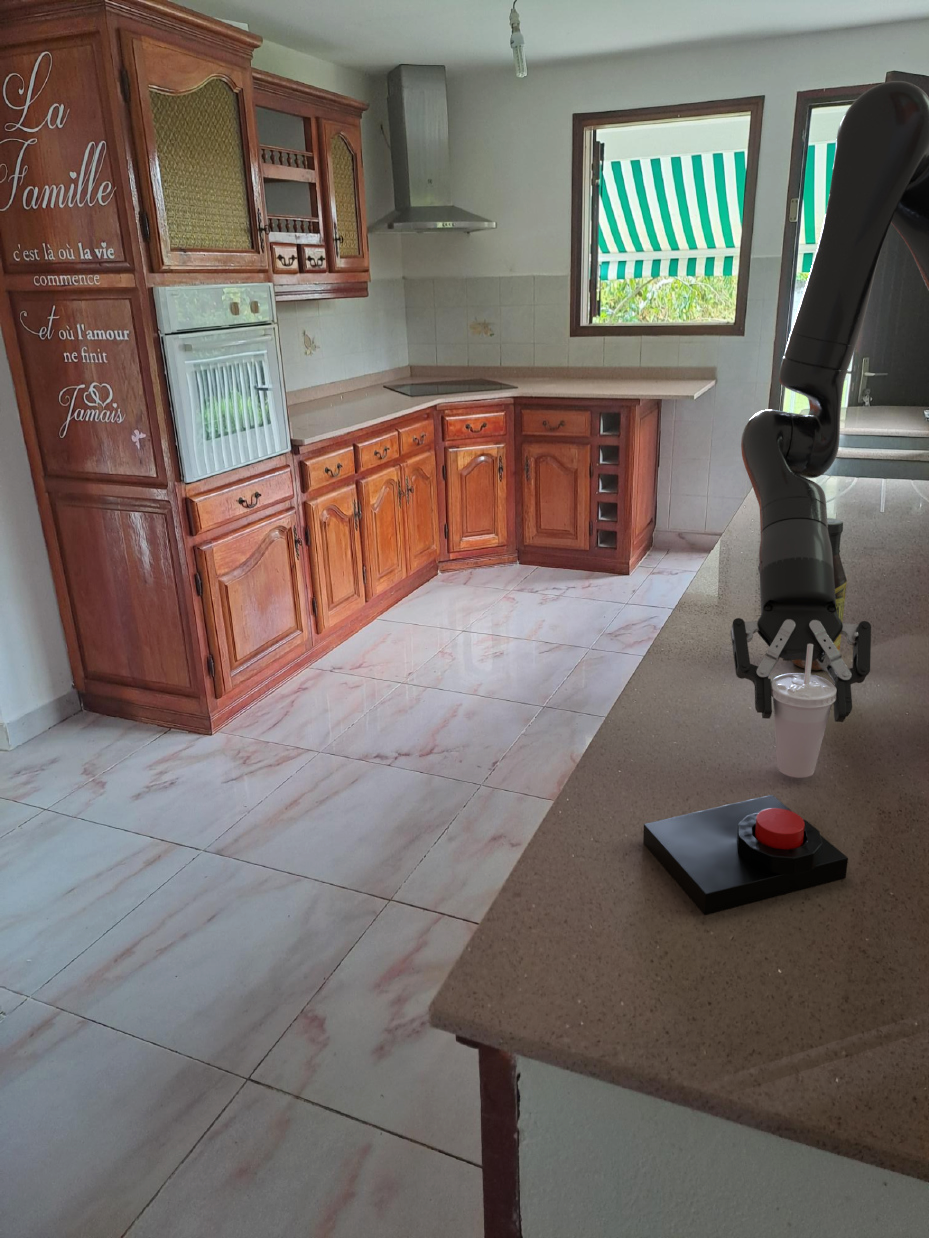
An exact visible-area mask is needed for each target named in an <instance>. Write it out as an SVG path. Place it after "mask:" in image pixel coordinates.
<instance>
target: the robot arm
mask: <svg viewBox="0 0 929 1238" xmlns="http://www.w3.org/2000/svg"><path fill="white" fill-rule="evenodd" d="M831 173H832V174H831V181H830V187H829V194H828V200H827V205H826V210H825V215H824V219H823V223H822V228H821V232H820V237H819V240H818V244H817V249H816V252H815V255H814V259H813V262H812V265H811V268H810V272H809V275H808V278H807V281H806V284H805V287H804V290H803V292H802V293H803V294H802V297H801V299H800V303H799V305H798V308H797V312H796V314H795V318H794V322H793V324H792V327H791V331H790V333H789V337H788V341H787V343H786V347H785V350H784V353H783V357H782V360H781V364H780V367H779V371H778V381H779V383H780V385H781V386H782V387H783V388H785V389H787V390H789V391H792V392H794V393H797V394H799V395H802V396H804V397H806V398H807V400H808V405H809V410H808V411H809V412H808V414H801V413H795V412H789V411H783V410H777V409H765V410H760V411H758V412H756V413H755V414H754V415H753V416H752V417H751V418H750V419H749V420H748V421H747V422H746V424H745V427H744V428H743V432H742V435H741V442H740V443H741V444H740V447H741V457H742V461H743V464H744V468H745V470H746V472H747V476H748V478H749V481H750V483H751V486H752V489H753V492H754V495H755V497H756V500H757V503H758V508H759V531H760V542H759V550H758V565H757V570H758V573H759V574H758V575H759V597H760V598H759V599H760V600H759V601H760V616H759V618H758V619H757V620H751V621H745V620H744V619H743V618H741V617H736V618H734V619H733V620H732V624H731V629H730V638H731V646H732V654H733V662H734V669H735V676H736V677H737V678H738V679H741V680H743V679H745V680H749V681H750V682H752V684H753V687H754V708H755V711H756V713H758V714H761V718H762V719H766V720H767V719H768V720H770V719H771V716H772V714H773V697H772V696H771V681H772V679H771V678H769V677H770V675H771V673H772V671H773V670H774V668H775V666H776V665H777V663H778V661H779V660H780V659H782V660H783V661H785V662H787V661H788V662H789V661H790V662H792V660H797V659H800V660H804V661H806V654H807V644H813V654H812V661H815V660H817V662H818V663H819V665H820V666H821V668H822V669H823V670H822V671H824V672H826V674H827V675H828V676H829V679H830V681H831V682H832V683H833V684H834V685H835V686H836V689H837V691H836V697H837V698H836V700H835V702H834V703H832V704H833V718H834V719H833V720H834V722H835V723H844V721H845V720H846V718H848V717H849V715H850V714H851V713H852V710H853V699H852V698H853V697H852V686H851V685H852V684H856V683H857V684H862V683H863V682H864V681H866V680H865V679H866V677H867V676H869V674H870V672H871V653H872V652H871V651H872V624H871V623H870V622H869V621H866V620H862V621H860V622H859V623H858V624H857V623H849V622H842V621H841V620H840V618H839V617H838V615H837V611H836V597H835V584H834V570H833V556H832V547H831V542H830V539H829V533H828V522H827V518H828V509H827V498H826V493H825V491H824V489H823V488H822V487H821V485H819V484H818V483H817V482H815V481H814V480H811V479H817V478H819V477H821V476H822V475H824V474H825V473H826V472H827V471H829V469H830V468H831V467H832V465H833V464H834V463H835V461H836V458H837V455H838V453H839V448H840V440H841V439H840V438H841V437H840V436H841V435H840V434H841V412H842V411H841V410H842V401H843V394H844V393H843V392H844V386H845V381H846V377H847V375H848V371H849V370H848V369H849V368H850V364H851V362H852V359H853V356H854V353H855V350H856V347H857V344H858V341H859V338H860V335H861V331H862V329H863V324H864V321H865V316H866V313H867V310H868V305H869V301H870V297H871V293H872V287H873V284H874V280H875V274H876V270H877V266H878V263H879V259H880V256H881V252H882V249H883V246H884V242H885V239H886V237H887V234H888V231H889V228H890V226H891V225H892V226H893V227H894V229H895V230H896V231H897V232H898V234H899V235H900V236H901V238H902V239H903V241H904V243H905V244H906V245H907V247H908V249H909V251H910V253H911V255H912V257H913V259H914V262H915V263H916V266H917V268H918V270H919V273H920V275H921V278H922V280H923V282H924V284H925V286H926V288H927V291H929V96H928V94H927V93H926V92H925V91H924V90H923V89H922V88H920V87H919V86H917V85H915V84H914V83H911V82H908V81H904V80H891V81H886V82H882V83H879V84H877V85H875V86H873V87H871V88H869V89H868V90H866V91H864V92H862V94H861V95H860V96H858V97H857V98H856V99H855V100H854V101H853V102H852V103H851V105H850V106H849V107H848V109H847V110H846V112H845V114H844V115H843V117H842V119H841V120H840V122H839V125H838V129H837V134H836V136H835V151H834V159H833V166H832V172H831ZM755 633H757V634H758V635H759V637H760V638H761V639H762V640H763V641H764V642H765V644H766V645H767V646H768V649H767V651H766V653H765V654H764V656H763V658H762V660H761V661H760V664H759V665H756V664H753V663H751V659H750V651H749V644H748V643H750V642H751V641H752V639H753V637H754V634H755ZM840 634H841V636H842V635H843V636H844V637H845V640H846V643H847V644H848V645H850V646H852V667H851V668H849V667H848V665H847V664H846V663H845V661H844V660H843V658H842V655H841V651H840V652H839V651H838V649H837V648H836V646H835V645H834V641H835V640H836V639H837V637H838V636H839V635H840Z"/></svg>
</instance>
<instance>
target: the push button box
mask: <svg viewBox="0 0 929 1238" xmlns="http://www.w3.org/2000/svg"><path fill="white" fill-rule="evenodd" d="M770 808H779V809H785V810H789V811H792V809H790V808H789V807H787V806H786V804H784V803H783V802H782V801H781V800H779V798H777V797H776V796H775V795H773V794H769V795H764V796H761V797H755V798H752V799H747V800H743V801H739V802H734V803H729V804H725V805H721V806H717V807H712V808H708V809H704V810H699V811H695V812H694V811H693V812H691V813H686V814H682V815H677V816H673V817H669V818H664V819H660V820H656V821H652V822H647V823H644V824H643V835H642V836H643V838H642V839H643V842H642V843H643V845H644V847H646V849H647V850H648V851H649V852H650V853H651V854H652V856H653V857H654V858H655V859H656V860H657V862H659V864H660V865H661V866H662V867H663V869H664V870H665V871H666V872H667V874H669V876H670V877H671V878H672V879H673V880H674V881H675V883H676V884H677V885H678V886H679V887H680V889H682V891H683V892H684V893H685V894H686V895H687V897H688V898H689V899H690V900H691V901H692V903H693V904H694V905H695V906H696V907H697V909H699V911H700V912H701V913H702V914H703V915H704V916H709V915H711V914H716V913H719V912H723V911H727V910H730V909H735V908H739V907H743V906H746V905H750V904H754V903H756V902H761V901H765V900H768V899H772V898H776V897H781V896H784V895H788V894H792V893H796V892H800V891H803V890H807V889H810V888H814V887H818V886H822V885H826V884H830V883H834V882H837V881H841V880H844V879H846V878H847V870H848V864H849V863H848V862H849V857H848V856H846V855H845V854H844V853H843V852H842V851H841V850H840V849H839V848H837V847H836V846H834V844H832V843H831V842H830V841H829V840H828V839H826V838H825V837H824V836H823V835H821V831H820V830H819V829H817V828H816V827H815V826H814V825H813V824H811V823H810V822H809V821H808V820H806V819H804V818H802V819H803V821H804V823H805V827H804V837H803V843H802V845H801V846H800V847H798V848H794V849H790V850H787V849H775V848H772V847H770V846H767V845H765V844H762V843H760V842H759V841H758V840H757V839H756V837H755V828H756V817H757V814H758V813H759V812H761V811H763V810H765V809H770Z"/></svg>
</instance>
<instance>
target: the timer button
mask: <svg viewBox="0 0 929 1238" xmlns="http://www.w3.org/2000/svg"><path fill="white" fill-rule="evenodd" d="M803 819H804V818H803V817H801V816H800V815H799V814H798V813H796V812H794V811H792V810H791V811H789V810H785V809H779V808H770V809H765V810H763V811H761V812H759V813H758V814H757V817H756V828H755V837H756V839H757V840H758V841H759V842H760V843H762V844H765V845H767V846H770V847H772V848H775V849H787V850H790V849H794V848H798V847H800V846H801V845H802V843H803V837H804V827H805V823H804V821H803Z"/></svg>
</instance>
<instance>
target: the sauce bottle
mask: <svg viewBox="0 0 929 1238" xmlns="http://www.w3.org/2000/svg"><path fill="white" fill-rule="evenodd" d="M827 522H828V533H829V539H830V542H831V547H832V556H833V570H834V584H835V597H836V611H837V615H838V617H839V618H840V620H841V621H842V623H844V614H845V613H844V612H845V601H846V593H847V584H848V583H847V582H848V580H847V577H846V576H847V575H846V573H845V570H844V566H843V562H842V558H841V555H840V553H841V550H840V549H841V547H840V546H841V538H842V533H843V531H844V521H843V520H842V519H838V518H834V517H832V518H831V517H827ZM841 641H842V634H840V635H839V636H838V637H837V639H836V640H835V641H834V645H835V646H836V648H837V649H838V651H839V652H840V653H841V651H840V649H841ZM791 663H792V664H794V665H795V666H796V667H799V668H801V669H805V665H806V661H804V660H800V659H797V660H792V661H791ZM811 671H824V670H823V669H822V668H821V666H820V665H819V663H818V662H817V660H815V661H812V664H811Z"/></svg>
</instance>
